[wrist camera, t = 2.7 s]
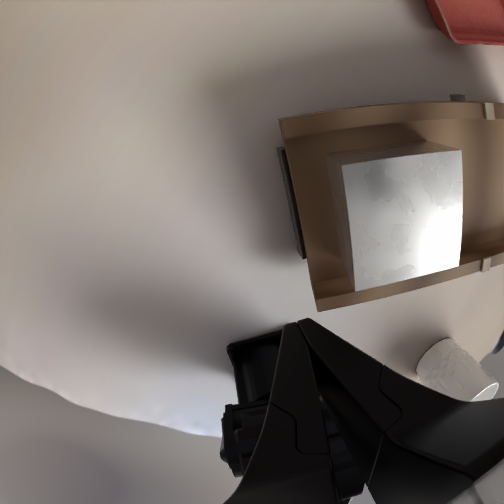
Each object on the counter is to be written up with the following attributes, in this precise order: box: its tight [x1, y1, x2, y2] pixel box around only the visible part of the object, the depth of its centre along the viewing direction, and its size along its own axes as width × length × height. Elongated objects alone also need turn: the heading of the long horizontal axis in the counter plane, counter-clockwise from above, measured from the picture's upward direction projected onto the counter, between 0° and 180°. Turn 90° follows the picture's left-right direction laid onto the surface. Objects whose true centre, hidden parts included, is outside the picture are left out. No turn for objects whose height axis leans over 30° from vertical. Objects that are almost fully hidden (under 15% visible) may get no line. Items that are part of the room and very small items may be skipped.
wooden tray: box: [278, 95, 504, 312], centre depth 16 cm, size 27×13×4 cm, turn 104°
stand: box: [277, 147, 307, 259], centre depth 20 cm, size 27×10×4 cm, turn 104°
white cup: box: [416, 338, 499, 402], centre depth 27 cm, size 8×8×10 cm
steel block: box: [325, 140, 463, 292], centre depth 16 cm, size 7×7×4 cm
